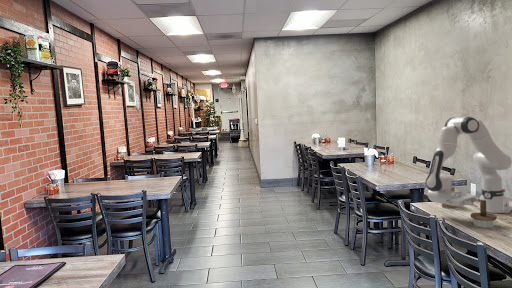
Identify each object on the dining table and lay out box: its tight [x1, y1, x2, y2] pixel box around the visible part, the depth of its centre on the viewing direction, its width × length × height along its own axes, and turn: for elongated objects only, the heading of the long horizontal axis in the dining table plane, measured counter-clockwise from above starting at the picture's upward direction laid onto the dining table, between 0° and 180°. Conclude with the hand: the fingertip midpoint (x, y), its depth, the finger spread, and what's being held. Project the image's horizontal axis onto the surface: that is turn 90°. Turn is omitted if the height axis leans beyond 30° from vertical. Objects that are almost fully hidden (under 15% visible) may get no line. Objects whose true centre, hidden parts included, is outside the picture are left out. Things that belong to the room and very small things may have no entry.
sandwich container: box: [441, 186, 456, 209], centre depth 255 cm, size 9×15×15 cm, turn 153°
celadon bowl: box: [473, 219, 495, 229], centre depth 208 cm, size 10×10×4 cm
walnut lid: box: [470, 200, 498, 221], centre depth 208 cm, size 13×13×10 cm
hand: (477, 202), depth 210 cm, fingers open, 8 cm apart
